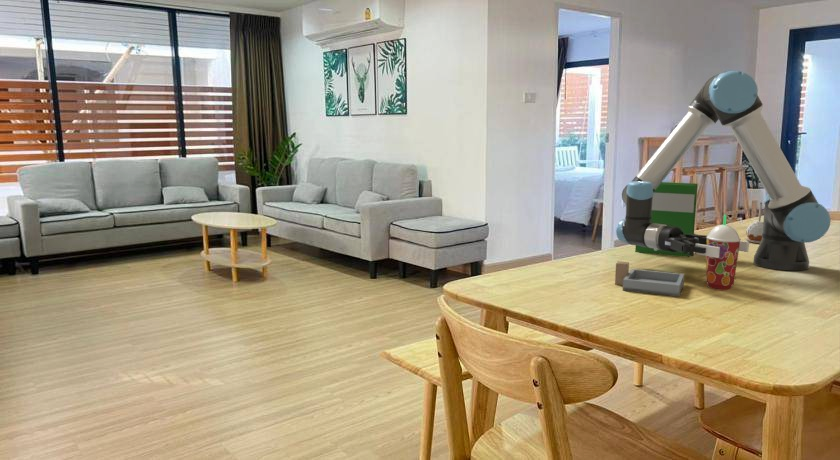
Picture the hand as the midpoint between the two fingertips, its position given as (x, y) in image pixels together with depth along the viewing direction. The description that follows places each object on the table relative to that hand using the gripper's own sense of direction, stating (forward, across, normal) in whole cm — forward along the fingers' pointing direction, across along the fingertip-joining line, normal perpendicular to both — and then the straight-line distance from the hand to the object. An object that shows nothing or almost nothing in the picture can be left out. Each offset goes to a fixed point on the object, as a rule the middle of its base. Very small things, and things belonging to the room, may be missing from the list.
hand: (733, 249), depth 170 cm
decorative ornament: (-34, -73, -11) cm, 82 cm away
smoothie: (-3, 0, -11) cm, 12 cm away
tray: (-14, +16, -11) cm, 24 cm away
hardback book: (-41, -28, -11) cm, 51 cm away
